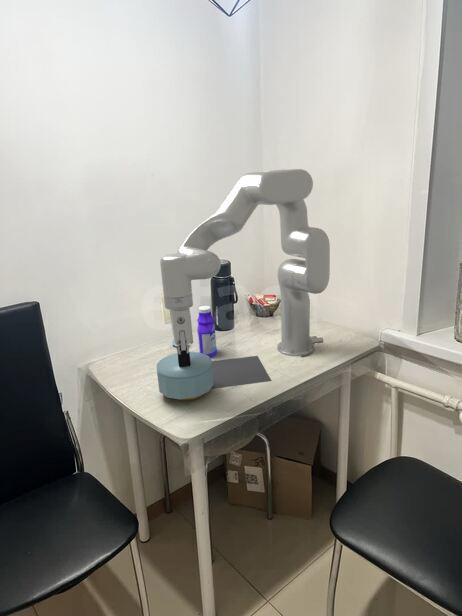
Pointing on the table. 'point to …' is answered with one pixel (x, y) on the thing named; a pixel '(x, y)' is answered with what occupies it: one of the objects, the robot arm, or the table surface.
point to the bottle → (206, 332)
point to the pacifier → (174, 345)
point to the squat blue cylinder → (185, 376)
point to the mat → (238, 372)
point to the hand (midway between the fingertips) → (184, 362)
